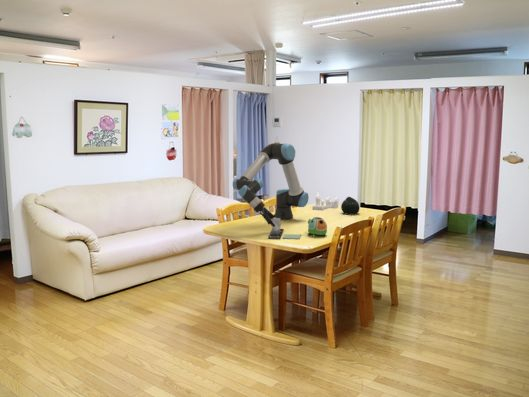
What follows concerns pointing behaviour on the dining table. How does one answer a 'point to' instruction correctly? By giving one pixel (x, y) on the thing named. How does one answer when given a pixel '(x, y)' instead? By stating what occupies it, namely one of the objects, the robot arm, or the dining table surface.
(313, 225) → the turtle holder
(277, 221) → the gray rectangular brick
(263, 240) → the dining table surface
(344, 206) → the squash
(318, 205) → the toy castle
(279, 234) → the dark brown flat frame
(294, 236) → the mat
